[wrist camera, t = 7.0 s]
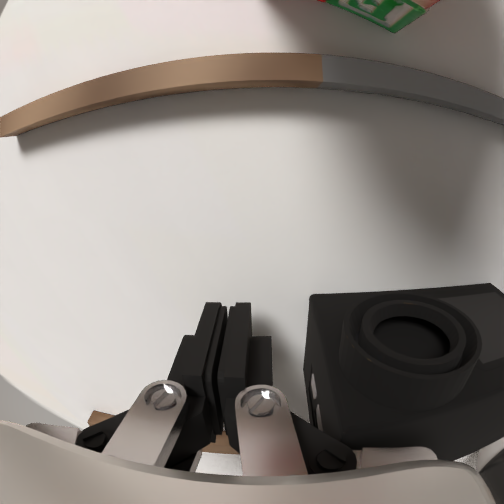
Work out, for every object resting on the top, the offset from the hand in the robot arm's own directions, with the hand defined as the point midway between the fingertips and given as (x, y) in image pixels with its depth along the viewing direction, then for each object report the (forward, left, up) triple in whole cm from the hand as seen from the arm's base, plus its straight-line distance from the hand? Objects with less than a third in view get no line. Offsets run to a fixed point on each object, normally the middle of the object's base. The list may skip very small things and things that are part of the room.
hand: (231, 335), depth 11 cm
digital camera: (-8, +1, -2) cm, 9 cm away
